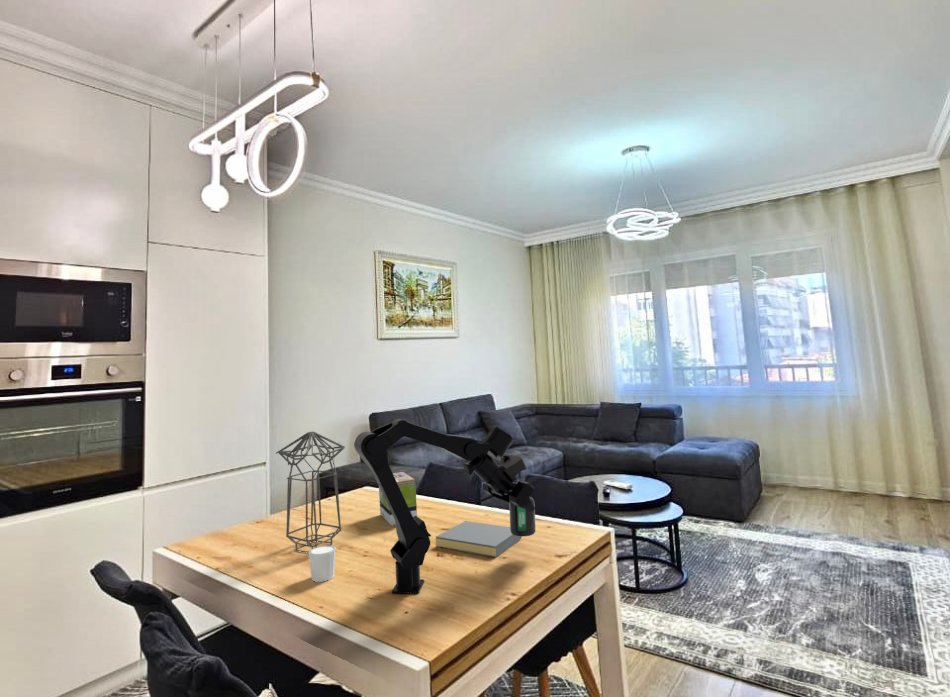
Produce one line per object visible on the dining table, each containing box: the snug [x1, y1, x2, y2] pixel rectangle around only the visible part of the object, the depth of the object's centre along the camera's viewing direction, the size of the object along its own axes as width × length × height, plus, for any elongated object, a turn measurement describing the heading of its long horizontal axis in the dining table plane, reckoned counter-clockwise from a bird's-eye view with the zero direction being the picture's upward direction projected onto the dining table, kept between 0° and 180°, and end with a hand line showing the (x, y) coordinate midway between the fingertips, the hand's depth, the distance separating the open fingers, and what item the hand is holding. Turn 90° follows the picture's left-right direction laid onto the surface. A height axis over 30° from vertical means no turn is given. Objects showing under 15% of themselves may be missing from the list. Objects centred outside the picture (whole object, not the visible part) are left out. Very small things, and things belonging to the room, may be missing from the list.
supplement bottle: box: [508, 496, 536, 537], centre depth 133 cm, size 7×7×12 cm
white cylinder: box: [307, 545, 337, 583], centre depth 126 cm, size 7×7×7 cm
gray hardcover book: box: [435, 520, 523, 558], centre depth 145 cm, size 16×20×3 cm
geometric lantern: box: [275, 431, 346, 554], centre depth 149 cm, size 16×16×35 cm
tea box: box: [378, 471, 418, 526], centre depth 175 cm, size 15×10×15 cm
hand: (526, 507), depth 134 cm, fingers closed on supplement bottle, 7 cm apart
